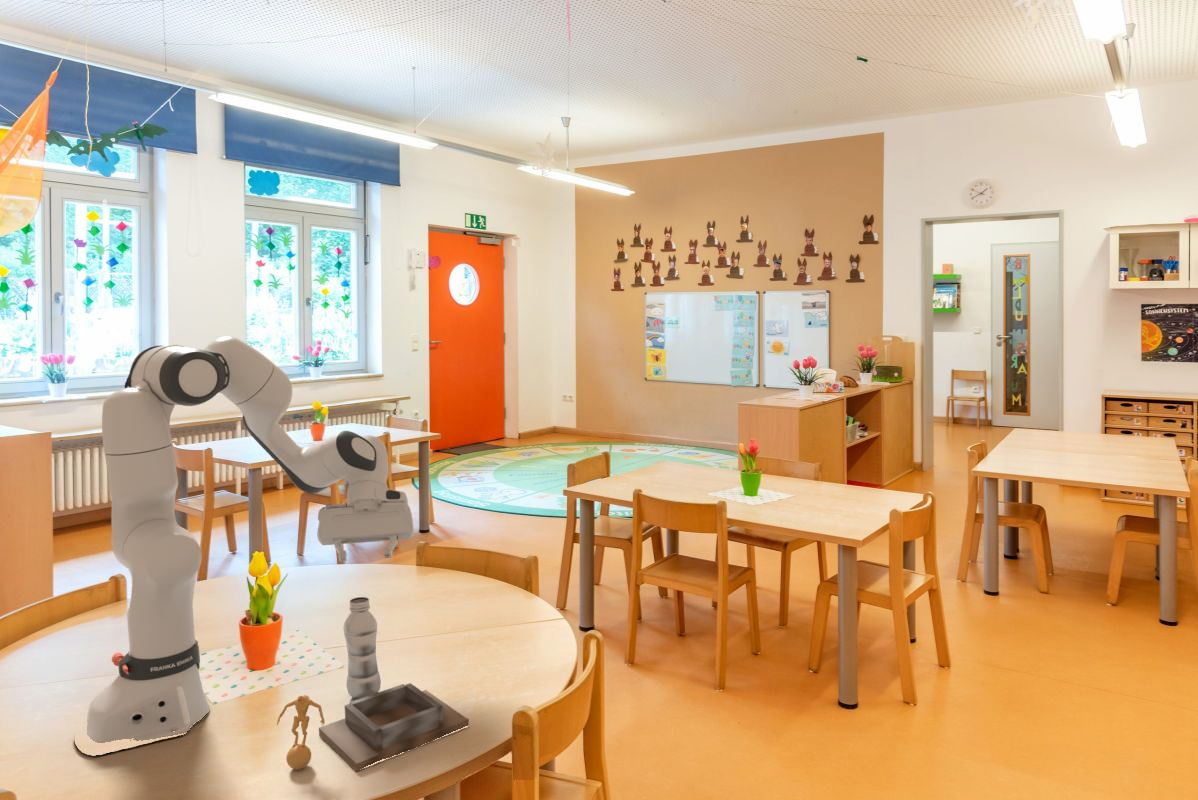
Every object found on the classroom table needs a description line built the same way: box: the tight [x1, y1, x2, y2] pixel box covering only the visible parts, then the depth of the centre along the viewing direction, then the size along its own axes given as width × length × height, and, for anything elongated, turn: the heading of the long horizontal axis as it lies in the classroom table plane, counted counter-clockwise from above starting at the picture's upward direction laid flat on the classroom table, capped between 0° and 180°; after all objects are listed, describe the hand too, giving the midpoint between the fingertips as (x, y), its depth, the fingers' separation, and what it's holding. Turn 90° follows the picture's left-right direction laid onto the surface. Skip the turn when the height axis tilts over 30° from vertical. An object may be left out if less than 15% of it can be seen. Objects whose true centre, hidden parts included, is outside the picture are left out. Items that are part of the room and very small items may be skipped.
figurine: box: [276, 694, 325, 770], centre depth 142 cm, size 8×6×12 cm
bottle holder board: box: [318, 682, 470, 772], centre depth 153 cm, size 22×16×5 cm
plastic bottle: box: [342, 596, 382, 700], centre depth 166 cm, size 6×7×20 cm
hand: (365, 558), depth 176 cm, fingers open, 8 cm apart
